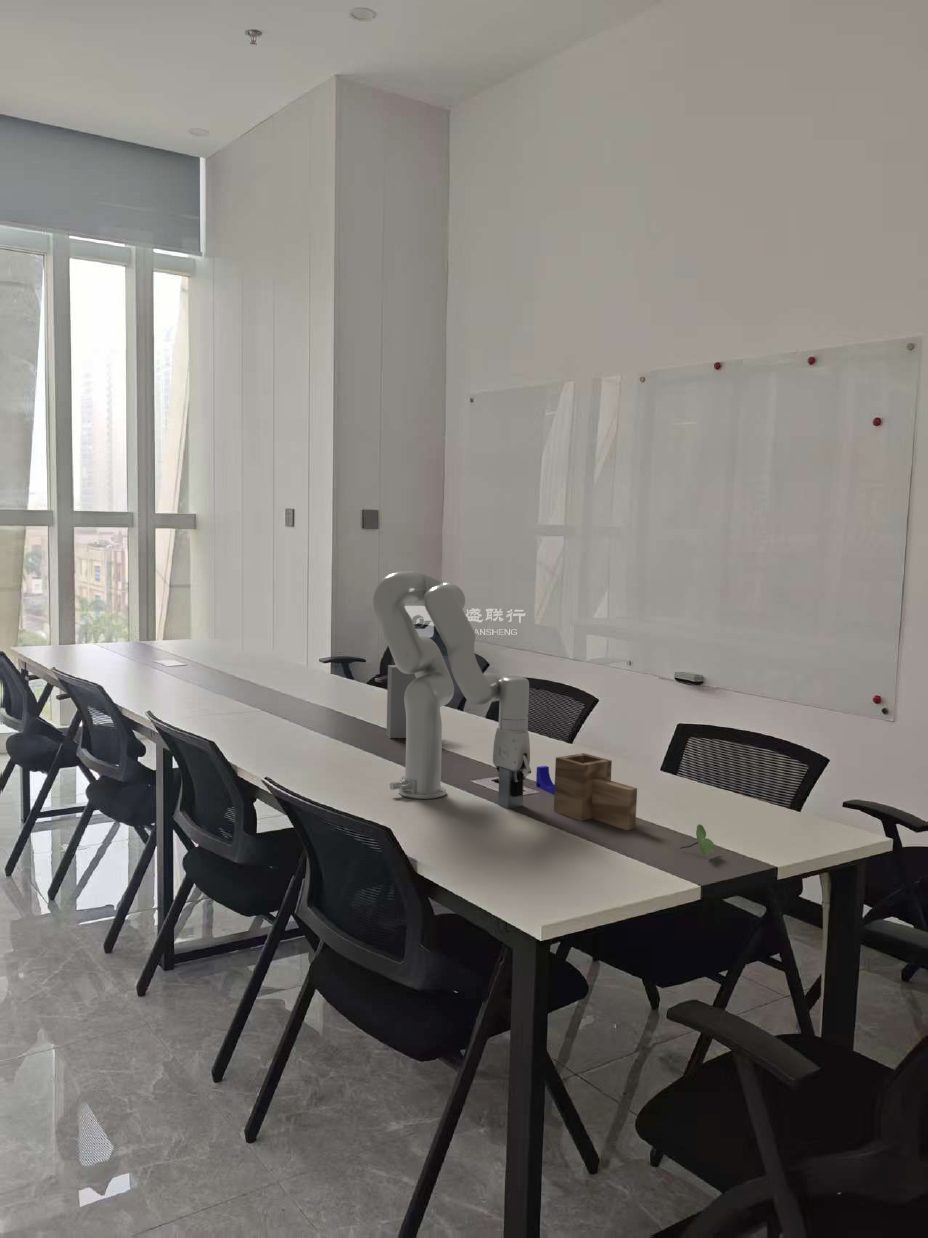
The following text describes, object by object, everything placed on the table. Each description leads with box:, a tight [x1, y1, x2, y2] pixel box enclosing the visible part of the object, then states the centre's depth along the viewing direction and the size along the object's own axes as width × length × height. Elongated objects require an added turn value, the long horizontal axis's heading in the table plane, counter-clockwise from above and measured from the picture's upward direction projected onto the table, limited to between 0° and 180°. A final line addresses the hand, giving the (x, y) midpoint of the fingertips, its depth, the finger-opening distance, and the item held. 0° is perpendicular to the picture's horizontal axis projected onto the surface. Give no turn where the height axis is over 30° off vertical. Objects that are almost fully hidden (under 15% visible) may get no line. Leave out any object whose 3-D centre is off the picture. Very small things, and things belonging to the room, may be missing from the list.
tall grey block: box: [385, 664, 416, 739], centre depth 345 cm, size 14×6×25 cm, turn 108°
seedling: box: [679, 824, 716, 857], centre depth 233 cm, size 7×8×7 cm
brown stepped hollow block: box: [553, 752, 638, 831], centre depth 257 cm, size 10×22×14 cm, turn 38°
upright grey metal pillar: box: [497, 766, 525, 809], centre depth 267 cm, size 5×4×11 cm
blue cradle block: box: [535, 765, 555, 796], centre depth 283 cm, size 12×4×6 cm, turn 27°
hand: (510, 793), depth 267 cm, fingers closed on upright grey metal pillar, 4 cm apart
